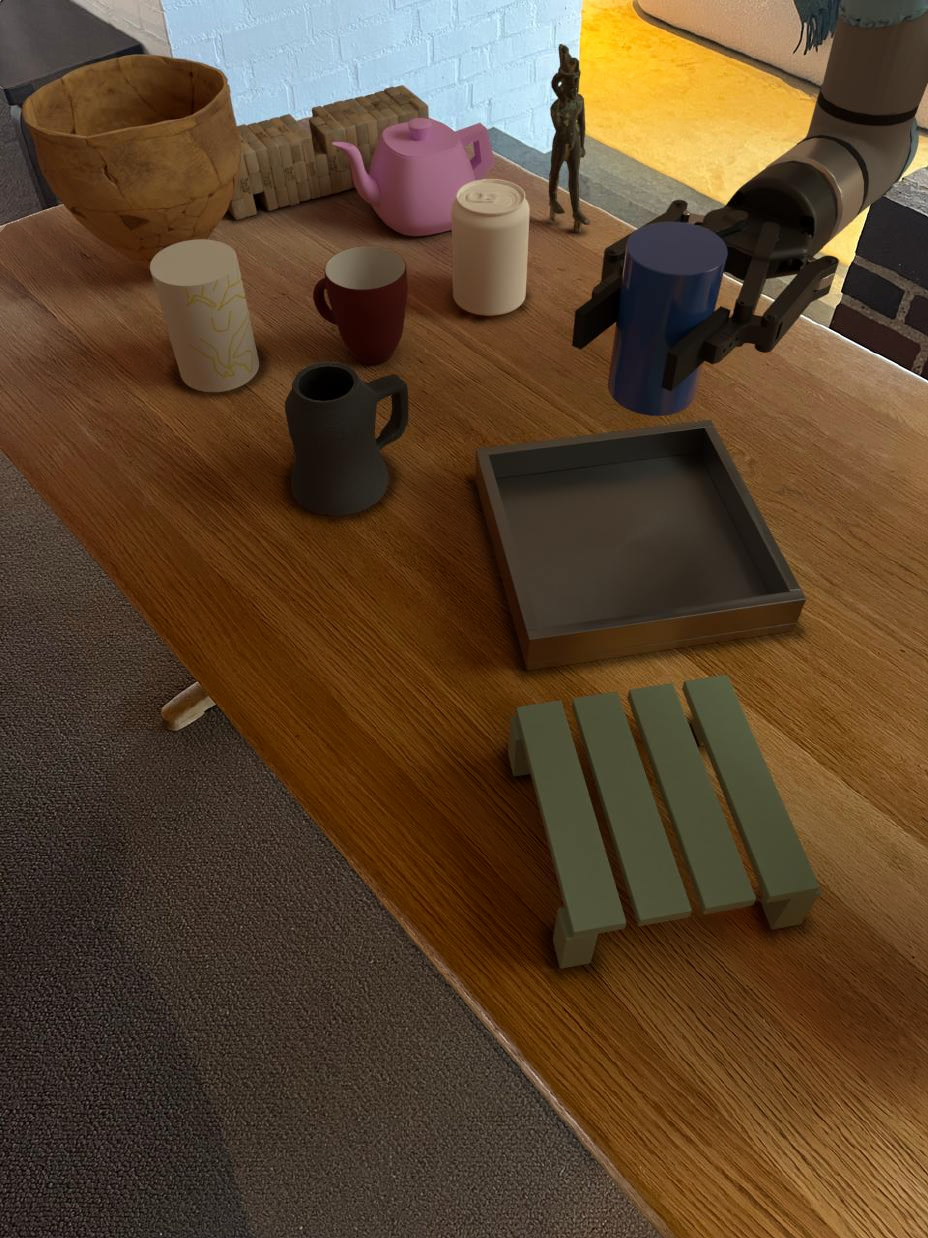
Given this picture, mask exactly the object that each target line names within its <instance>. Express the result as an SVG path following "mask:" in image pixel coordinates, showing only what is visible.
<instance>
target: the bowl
mask: <svg viewBox="0 0 928 1238" xmlns="http://www.w3.org/2000/svg"><path fill="white" fill-rule="evenodd" d="M231 93H232V92H231V87H230V85H229V79H228V77H227V76H226V74H225V73H224V71H222V70H221V69H219V68H216V67H214V66H211V65H209V64H207V63H204V62H201V61H195V60H191V59H188V58H179V57H170V56H165V55H160V54H159V55H157V54H129V55H123V56H120V57H113V58H109V59H106V60H102V61H98V62H94V63H90V64H86V65H83V66H81V67H79V68H75V69H73V70H71V71H69V72H67V73H66V74H64V75H62V76H61V77H60V78H58V79H55V80H53V81H50V82H49V83H47V84H45V85H43V86H42V87H41V86H40V88H38V89H37V90H36V91H34V92H33V93H32V94H30V95H29V96H28V97H27V98H26V99H25V100H24V101H23V103H22V105H21V115H22V118H23V121H24V123H25V125H26V127H27V129H28V130H29V132H30V134H31V139H32V141H33V143H34V146H35V147H34V148H35V152H36V158H37V163H38V166H39V169H40V171H41V173H42V175H43V178H44V179H45V181H46V183H47V184H48V187H49V188H50V189H51V192H53V194H54V195H55V196H56V197H57V199H58V200H59V201H60V202H61V203H62V204H63V206H64V207H65V208H66V209H67V211H68V212H69V213H70V214H71V215H72V216H73V217H74V218H75V220H76V221H77V222H78V223H79V224H80V225H81V226H82V227H84V228H85V229H86V230H87V231H88V232H90V233H91V234H92V235H93V236H94V237H96V238H97V239H98V240H100V241H101V242H104V243H105V244H106V245H108V246H110V247H111V248H113V249H115V250H116V251H117V252H119V253H120V254H122V255H124V256H125V257H126V258H128V259H129V260H130V261H132V262H133V263H135V264H137V265H139V266H140V267H142V268H144V269H147V270H150V263H151V261H152V259H153V258H154V256H155V255H156V254H157V253H159V252H160V251H161V250H163V249H165V248H166V247H168V246H171V245H173V244H176V243H179V242H183V241H188V240H197V239H206V240H210V237H211V235H212V234H213V232H214V231H215V230H216V228H217V227H218V226H219V223H220V222H221V221H222V220H223V217H224V216H225V215H226V213H227V212H226V211H227V209H228V206H229V204H230V201H231V198H232V196H233V193H234V190H235V187H236V184H237V180H238V176H239V171H240V163H241V139H240V135H239V132H238V128H237V126H238V125H237V122H236V117H235V113H234V109H233V102H232V96H231Z"/></svg>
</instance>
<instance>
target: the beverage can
mask: <svg viewBox="0 0 928 1238" xmlns="http://www.w3.org/2000/svg"><path fill="white" fill-rule="evenodd" d="M530 209H531V208H530V203H529V202H528V200H527V199H526V193H525V190H524V189H523V188H522V187H521V186H519V185H518V184H517V183H514V182H512V181H509V180H506V179H499V178H482V179H481V180H476V181H472V182H469V183H467V184H465V185H463V186H462V187H461V188H460V189H459V190H458V191H457V194H456V199H455V200H454V202H453V205H452V230H451V258H452V260H451V261H452V263H451V265H452V297H453V300H454V301H455V303H456V305H457V306H458V307H459V308H460V309H462V310H464V311H466V312H468V313H471V314H474V315H478V316H488V317H491V316H492V317H493V316H494V317H495V316H500V315H505V314H509V313H511V312H513V311H515V310H516V309H518V308H520V306H522V305H523V303H524V302H525V299H526V295H527V275H528V273H527V272H528V256H529V255H528V254H529V253H528V252H529V234H530V233H529V231H530V212H531V210H530Z"/></svg>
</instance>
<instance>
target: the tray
mask: <svg viewBox="0 0 928 1238" xmlns="http://www.w3.org/2000/svg"><path fill="white" fill-rule="evenodd" d="M475 485H476V489H477V492H478V496H479V500H480V504H481V507H482V512H483V514H484V519H485V522H486V526H487V529H488V533H489V536H490V540H491V544H492V548H493V552H494V555H495V559H496V563H497V566H498V569H499V572H500V577H501V580H502V584H503V588H504V591H505V596H506V598H507V602H508V603H507V604H508V606H509V610H510V613H511V614H510V615H511V617H512V622H513V624H514V628H515V632H516V635H517V636H516V637H517V639H518V643H519V646H520V650H521V654H522V658H523V661H524V665H525V668H526V671H528V672H530V671H535V670H542V669H548V668H549V669H550V668H555V667H556V668H557V667H562V666H568V665H569V666H570V665H575V664H582V663H590V662H596V661H603V660H609V659H616V658H621V657H628V656H635V655H641V654H647V653H648V654H649V653H655V652H660V651H661V652H662V651H666V650H667V651H669V650H673V649H674V650H675V649H680V648H681V649H682V648H687V647H694V646H701V645H708V644H715V643H721V642H728V641H734V640H741V639H747V638H753V637H761V636H766V635H773V634H774V635H775V634H780V633H787V632H794V630H795V629H796V625H797V623H798V621H799V618H800V617H801V614H802V611H803V608H804V606H805V604H806V602H807V597H806V595H805V593H804V591H803V590H802V588H801V586H800V584H799V582H798V581H797V578H796V577H795V574H794V573H793V570H792V569H791V567H790V565H789V563H788V561H787V559H786V557H785V556H784V554H783V552H782V550H781V548H780V547H779V544H778V543H777V541H776V538H775V537H774V535H773V533H772V531H771V529H770V528H769V526H768V524H767V522H766V519H765V518H764V516H763V514H762V512H761V511H760V509H759V507H758V505H757V503H756V501H755V499H754V497H753V495H752V494H751V492H750V490H749V487H748V486H747V484H746V483H745V480H744V479H743V477H742V475H741V473H740V471H739V469H738V467H737V465H736V463H735V462H734V460H733V458H732V456H731V454H730V452H729V450H728V449H727V446H726V445H725V442H724V441H723V439H722V437H721V436H720V433H719V432H718V430H717V428H716V426H715V424H714V423H713V421H712V419H704V420H703V419H702V420H695V421H688V422H680V423H671V424H663V425H657V426H648V427H640V428H632V429H631V428H630V429H624V430H616V431H609V432H600V433H593V434H591V433H590V434H584V435H576V436H569V437H560V438H551V439H545V440H537V441H536V440H535V441H530V442H529V441H527V442H521V443H513V444H504V445H496V446H489V447H481V448H476V449H475Z"/></svg>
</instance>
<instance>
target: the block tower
mask: <svg viewBox="0 0 928 1238" xmlns="http://www.w3.org/2000/svg"><path fill="white" fill-rule="evenodd" d="M311 116H312V117H311V118H309V119H308V124H309V125H308V126H309V129H310V134H311V135H310V134H309V132H308V131H306V129H304V127H303V126H302V125H301V124H300V123H299V122H298V121H297V119H296V118H295V117H294V116H292V115H291V114H290V113H287V114H283V115H281V116H276V117H272V118H269V119H265V120H261V121H257V122H251V123H248V124H246V123H244V124H239V125H237V128H238V132H239V135H240V139H241V163H240V171H239V176H238V180H237V184H236V187H235V190H234V193H233V196H232V198H231V201H230V204H229V206H228V209H227V211H226V213H227V212H229V213H230V214H231V215H232V217H233V218H234V219H235V221H239V220H242V219H245V218H246V217H252V216H255V215H257V214H258V212H257V207H256V203H255V198H254V196H255V197H256V198H257V199H258V200H259V202H261V204H262V206H263V207H264V208H265V209H266V210H267V211H269V212H271V211H274V210H277V209H279V208H284V207H287V206H290V207H291V206H295V205H298V204H300V202H306V201H309V200H315V199H319V198H321V197H327V196H329V195H332V194H338V193H341V192H343V191H344V192H345V191H348V190H351V189H353V188H354V189H356V187H355V184H354V180H353V176H352V170H351V165H350V161H349V159H348V157H347V155H346V154H345V153H344V152H343V151H342V150H341V149H339V148H338V147H336V146H334V145H333V144H332V143H333V142H346V143H350V144H352V145H354V146H355V147H356V148H357V149H358V150H359V152H360V154H361V157H362V160H363V164H364V168H365V171H366V173H367V174H368V175H369V172H370V166H371V161H372V157H373V154H374V151H375V148H376V146H377V143H378V140H379V138H380V136H381V134H382V132H383V131H384V130H385V129H386V128H387V127H390V126H393V125H396V124H400V123H405V122H409V121H410V120H412V119H415V118H425V119H430V112H429V105H428V104H427V103H426V102H425V101H423V99H421V98H420V97H419V96H417V94H415V93H414V92H413V91H411V90H410V89H409V88H408V87H406V86H405V85H404V84H402V85H397V86H389V87H386V88H384V89H383V90H379V91H375V92H374V93H371V94H367V95H364V96H363V95H361V96H357V97H354V98H352V97H351V98H347V99H345V100H337V101H334V102H331V103H327V104H323V106H322V105H318V106H313V107H312V108H311Z"/></svg>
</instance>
